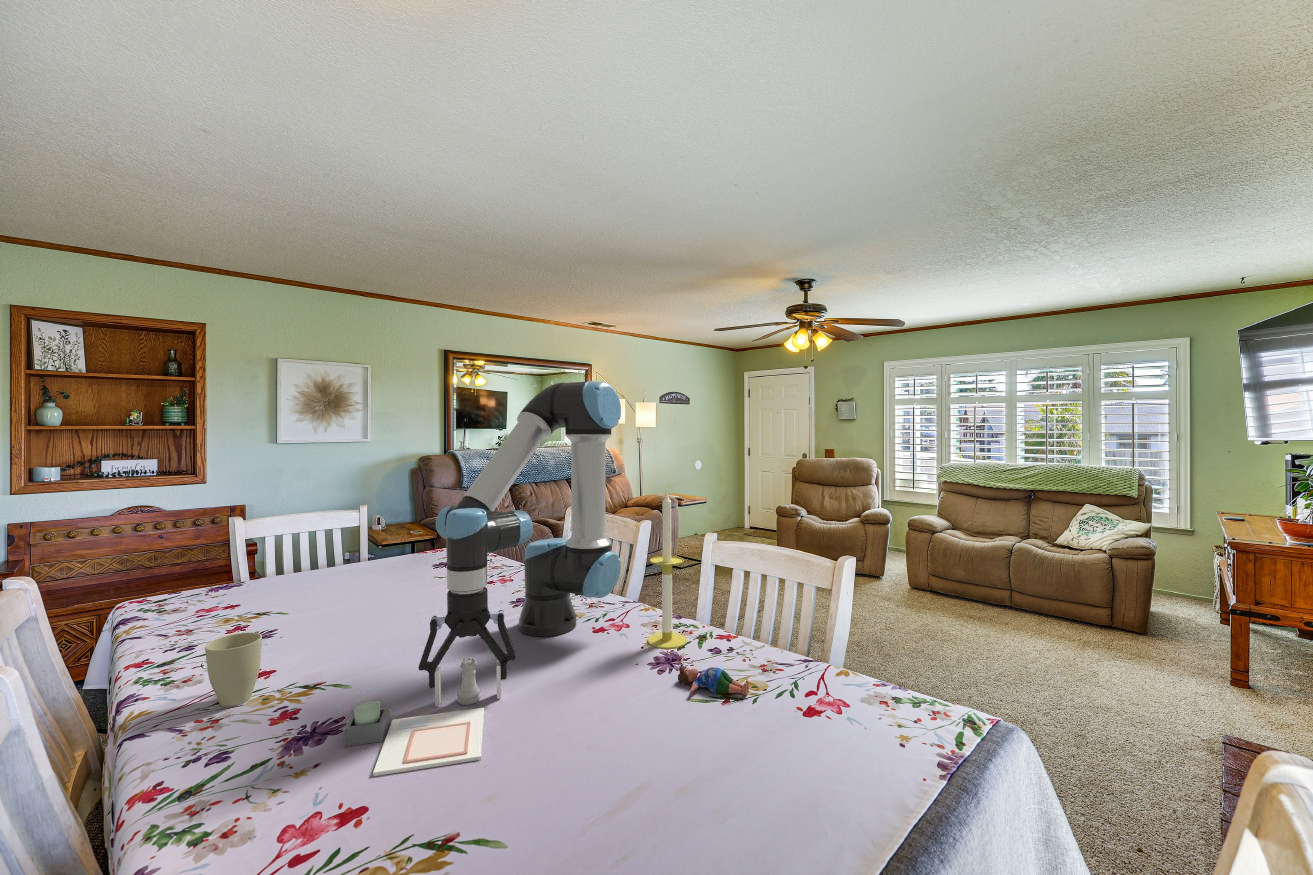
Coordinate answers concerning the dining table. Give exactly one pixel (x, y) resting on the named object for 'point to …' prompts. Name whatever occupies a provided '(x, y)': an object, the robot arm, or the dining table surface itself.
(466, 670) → the rook chess piece
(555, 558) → the robot arm
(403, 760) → the cream square board
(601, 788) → the dining table surface
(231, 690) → the mug
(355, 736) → the button housing
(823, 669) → the dining table surface
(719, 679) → the toy character
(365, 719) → the button
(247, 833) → the dining table surface
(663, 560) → the paper towel holder
